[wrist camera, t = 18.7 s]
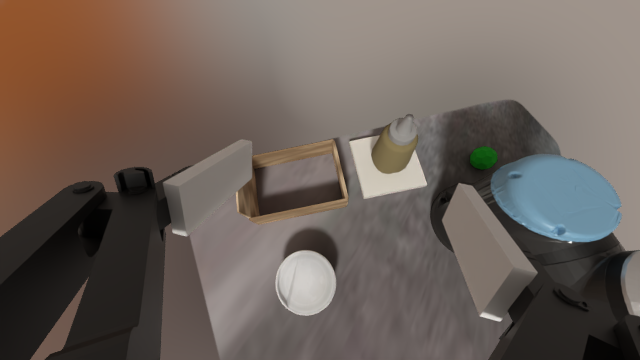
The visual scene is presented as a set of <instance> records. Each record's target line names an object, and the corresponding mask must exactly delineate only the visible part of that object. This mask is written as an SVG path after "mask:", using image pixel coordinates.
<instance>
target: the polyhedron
mask: <svg viewBox="0 0 640 360" xmlns="http://www.w3.org/2000/svg"><path fill="white" fill-rule="evenodd" d="M496 161H497V153H496V152H495V150H494V149H492V148H490V147H486V146H484V147H480V148H477V149H475V150H474V151H473V153H472V154H471V155H470V163H471V164H472V166H473V167H475V168H478V169H481V170H483V169H488V168H491V167H492V166H493V165H494V164H495V163H496Z"/></svg>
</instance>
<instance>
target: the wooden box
mask: <svg viewBox="0 0 640 360" xmlns="http://www.w3.org/2000/svg"><path fill="white" fill-rule="evenodd" d="M330 153H332V154H333V159H334V163H335V167H336V172H337V176H338V180H339V185H340V189H341V193H342V198H343V199H341V200H336V201H331V202H326V203H321V204H316V205H311V206H306V207H302V208H297V209H292V210H287V211H282V212H277V213H272V214H267V215H262V216H259V207H258V198H257V188H256V179H255V170H254V169H257V168H261V167H266V166H271V165H276V164H281V163H286V162H291V161H296V160H300V159H305V158H310V157H315V156H320V155H325V154H330ZM348 199H349V198H348V194H347V189H346V185H345V181H344V177H343V173H342V169H341V164H340V160H339V156H338V152H337V148H336V144H335V141H333V139H331V140H326V141H322V142H317V143H312V144H307V145H302V146H297V147H292V148H287V149H283V150H278V151H273V152H268V153H263V154H258V155H253V156H252V179H250V180H249V181H248V182H247V183H246V184H245V185H244V186H243V187H242V188H240V189H239V190H238V191H237V192H236V200H237V212H238V213H240V214H242V215H244V216H246V217H248V218H249V220H250V221H252V222H254V223H256V224H264V223H269V222H274V221H279V220H283V219H288V218H293V217H298V216H303V215H308V214H313V213H318V212H322V211H327V210H332V209H337V208H342V207H346V206H347V204H348Z"/></svg>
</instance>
